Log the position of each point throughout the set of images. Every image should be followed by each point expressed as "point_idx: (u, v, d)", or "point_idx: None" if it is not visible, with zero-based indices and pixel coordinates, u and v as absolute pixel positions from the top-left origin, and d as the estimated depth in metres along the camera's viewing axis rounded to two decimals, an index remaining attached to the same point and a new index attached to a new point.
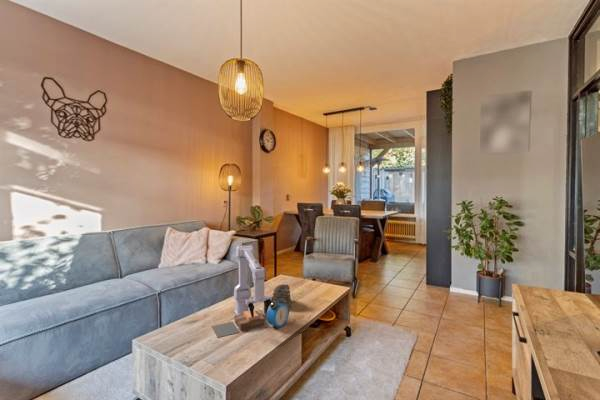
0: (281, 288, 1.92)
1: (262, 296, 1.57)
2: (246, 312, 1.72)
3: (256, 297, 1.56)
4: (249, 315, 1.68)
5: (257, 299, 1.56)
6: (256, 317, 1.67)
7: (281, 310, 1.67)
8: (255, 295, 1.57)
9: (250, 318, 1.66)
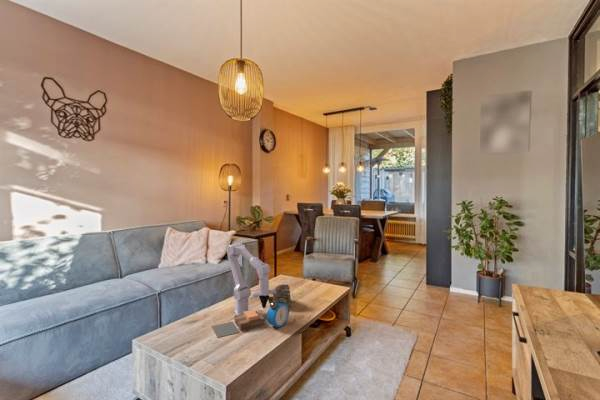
0: (281, 288, 1.92)
1: (267, 290, 1.72)
2: (246, 312, 1.72)
3: (261, 291, 1.71)
4: (249, 315, 1.68)
5: (262, 293, 1.71)
6: (256, 317, 1.67)
7: (281, 310, 1.67)
8: (260, 289, 1.72)
9: (250, 318, 1.66)
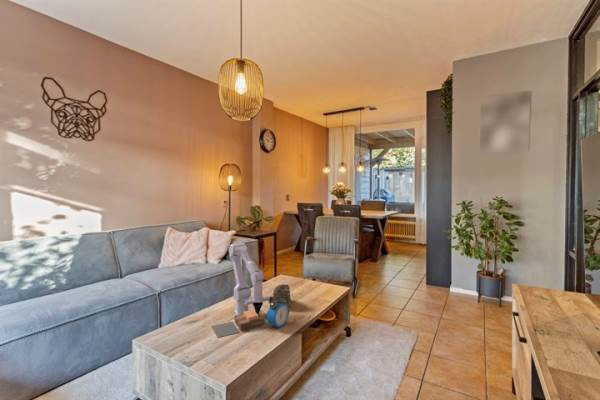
0: (281, 288, 1.92)
1: (260, 297, 1.70)
2: (246, 312, 1.72)
3: (255, 298, 1.69)
4: (249, 315, 1.68)
5: (256, 299, 1.69)
6: (255, 318, 1.67)
7: (281, 310, 1.67)
8: (254, 296, 1.70)
9: (250, 318, 1.66)
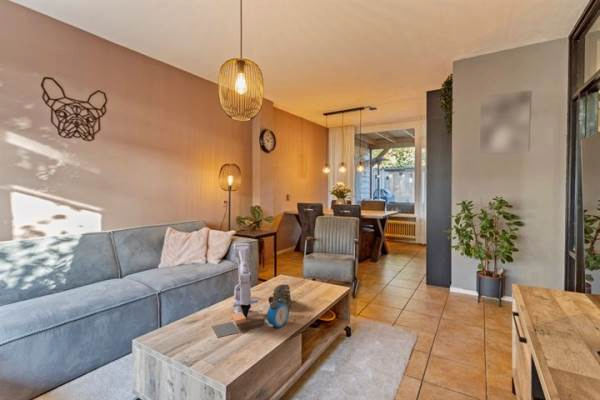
0: (281, 288, 1.92)
1: (248, 299, 1.67)
2: (233, 315, 1.68)
3: (242, 300, 1.66)
4: (236, 318, 1.64)
5: (243, 302, 1.66)
6: (243, 320, 1.64)
7: (281, 310, 1.67)
8: (241, 298, 1.66)
9: (237, 321, 1.62)
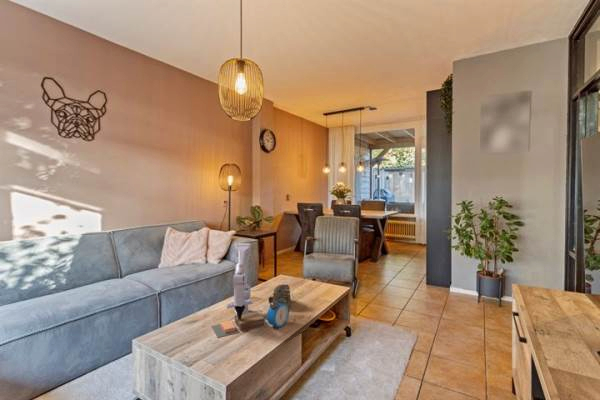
0: (281, 288, 1.92)
1: (242, 300, 1.65)
2: None
3: (236, 301, 1.64)
4: None
5: (237, 303, 1.64)
6: (227, 330, 1.59)
7: (281, 310, 1.67)
8: (235, 299, 1.64)
9: (233, 329, 1.61)
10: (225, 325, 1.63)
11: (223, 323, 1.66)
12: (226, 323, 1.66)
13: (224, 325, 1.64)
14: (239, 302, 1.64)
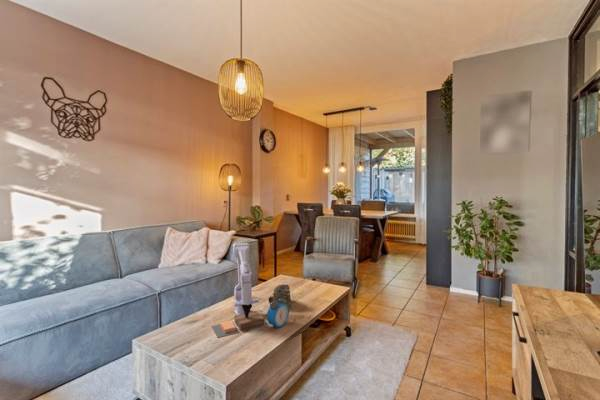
0: (281, 288, 1.92)
1: (249, 299, 1.67)
2: None
3: (243, 300, 1.66)
4: None
5: (244, 302, 1.66)
6: (227, 330, 1.59)
7: (281, 310, 1.67)
8: (242, 298, 1.66)
9: (233, 329, 1.61)
10: (225, 325, 1.63)
11: (223, 323, 1.66)
12: (226, 323, 1.66)
13: (224, 325, 1.64)
14: (246, 301, 1.66)
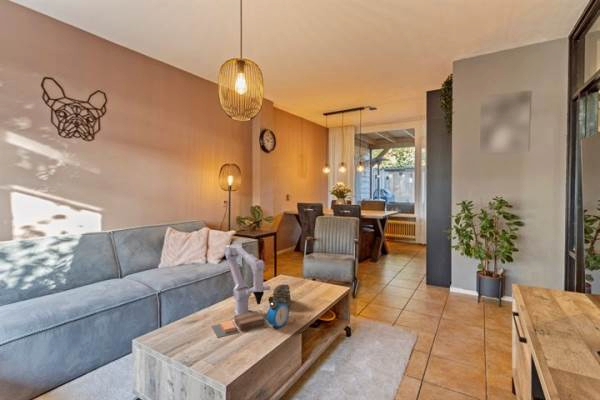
0: (281, 288, 1.92)
1: (261, 286, 1.72)
2: None
3: (256, 287, 1.71)
4: None
5: (256, 289, 1.71)
6: (227, 330, 1.59)
7: (281, 310, 1.67)
8: (255, 285, 1.71)
9: (233, 329, 1.61)
10: (225, 325, 1.63)
11: (223, 323, 1.66)
12: (226, 323, 1.66)
13: (224, 325, 1.64)
14: (258, 288, 1.71)
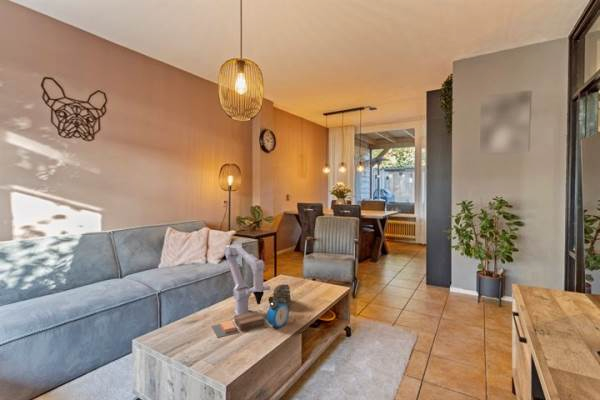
0: (281, 288, 1.92)
1: (261, 286, 1.72)
2: None
3: (256, 287, 1.71)
4: None
5: (256, 289, 1.71)
6: (227, 330, 1.59)
7: (281, 310, 1.67)
8: (255, 285, 1.71)
9: (233, 329, 1.61)
10: (225, 325, 1.63)
11: (223, 323, 1.66)
12: (226, 323, 1.66)
13: (224, 325, 1.64)
14: (258, 288, 1.71)
